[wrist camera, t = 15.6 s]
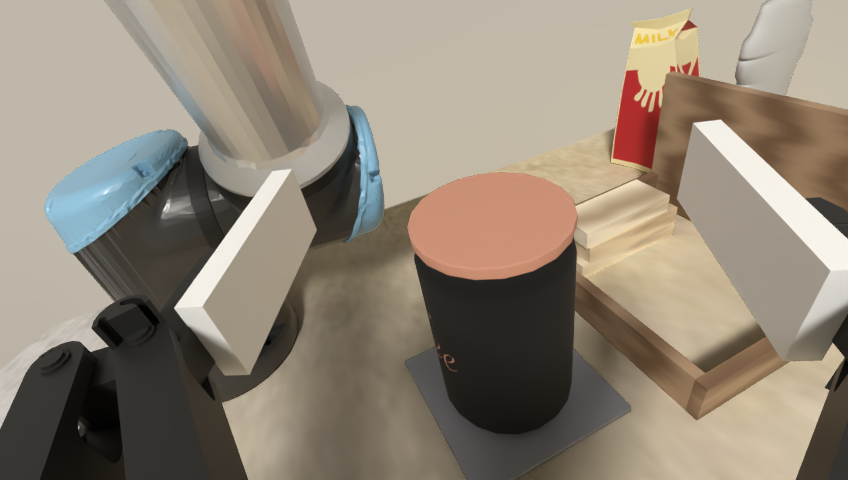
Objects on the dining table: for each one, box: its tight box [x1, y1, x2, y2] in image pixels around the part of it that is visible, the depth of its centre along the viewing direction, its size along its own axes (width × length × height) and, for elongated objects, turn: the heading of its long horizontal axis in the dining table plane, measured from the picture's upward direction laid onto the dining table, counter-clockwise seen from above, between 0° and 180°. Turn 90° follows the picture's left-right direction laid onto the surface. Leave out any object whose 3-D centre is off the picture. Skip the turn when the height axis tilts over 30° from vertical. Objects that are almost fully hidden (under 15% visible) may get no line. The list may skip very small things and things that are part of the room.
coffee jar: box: [407, 172, 578, 434], centre depth 33 cm, size 11×11×18 cm
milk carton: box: [611, 8, 700, 173], centre depth 59 cm, size 9×9×20 cm
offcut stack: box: [574, 179, 678, 278], centre depth 49 cm, size 5×13×6 cm, turn 114°
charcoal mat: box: [405, 346, 631, 480], centre depth 39 cm, size 14×14×1 cm
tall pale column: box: [735, 0, 813, 96], centre depth 50 cm, size 11×4×22 cm, turn 117°
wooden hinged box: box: [575, 71, 848, 420], centre depth 41 cm, size 24×21×16 cm
